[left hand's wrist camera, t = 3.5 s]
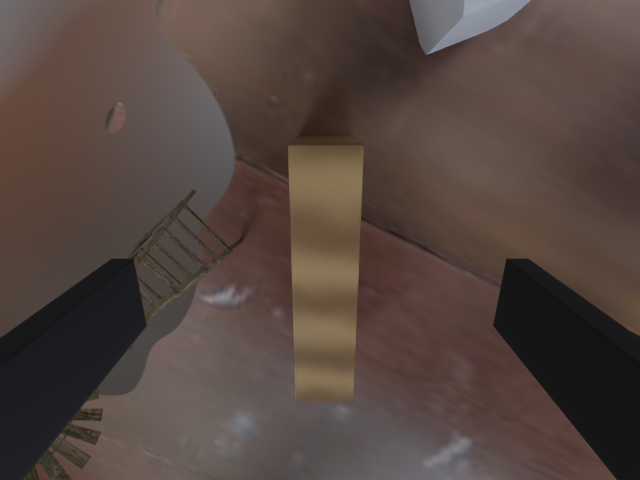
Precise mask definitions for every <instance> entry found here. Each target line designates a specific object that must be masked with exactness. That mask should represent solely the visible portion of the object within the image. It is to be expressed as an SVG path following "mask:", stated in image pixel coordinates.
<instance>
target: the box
mask: <svg viewBox="0 0 640 480" xmlns="http://www.w3.org/2000/svg"><path fill="white" fill-rule="evenodd" d="M363 158H364V145H363V144H362V143H360V142H359V141H358V140H357V139H356V138H355V137H354V136H297V137H296V138H295V139H294V140H293V141H292V142H291V143H290V144H289V145H288V169H289V202H290V235H291V267H292V300H293V333H294V366H295V398H296V402H353V398H354V374H355V350H356V326H357V302H358V278H359V254H360V230H361V206H362V182H363Z"/></svg>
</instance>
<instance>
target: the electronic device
mask: <svg viewBox="0 0 640 480" xmlns="http://www.w3.org/2000/svg"><path fill="white" fill-rule="evenodd" d="M530 1H531V0H409V2H410V6H411V10H412V14H413V18H414V23H415V27H416V31H417V35H418V39H419V44H420V46H421V47H422V49H423V51H424V52H425V54H426V55H428V54H430V53H433V52H435V51H438V50H440V49H443V48H445V47H448V46H450V45H453V44H456V43H458V42H461V41H463V40H466V39H468V38H471V37H473V36H476V35H478V34H481V33H483V32H486V31H488V30H490V29H492V28H494V27H496V26H498V25H500V24H501V23H503V22H505V21H507V20H508V19H510V18H511V17H512V16H513V15H514V14H516V13H517V12H518V11H519V10H520V9H521V8H523V7H524V6H525V5H526V4H527V3H529V2H530Z"/></svg>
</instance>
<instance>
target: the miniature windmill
mask: <svg viewBox="0 0 640 480" xmlns="http://www.w3.org/2000/svg"><path fill="white" fill-rule="evenodd" d="M195 192H196V191H194V190H192V191H191V193H190V194H189V195H188V196H187V197H186V199H185V200H184V201H182V202H180V203H179V204H178V205H177V206H176V207H175V208H174V209H173V210H172V211H171V212H170V213H169V214H168V215H167V216H166V217H165V218H163V219H162V220H161V221H160V222H159V223H158V224H157V225H156V226H155V227H154V228H153V229H152V230H151V231H149V232H148V233H147V234H146V235H145V236H144V237H143V238H142V239H141V240H140V241H139V242H138V243H137V244H136V245H135V246H134V247H135V250H134V251H133V252H132V254H131V255H130V256H129V257H128V258H127V259H134V261H135V262H134V264H135V269H136V267H137V266H138V265H139V264H140V262H142V263H143V264H144V265H145V266H147V267H148V268H149V269H150V270H151V271H152V272H154V273H155V274H156V275H157V276H158V277H159V278H161V279H162V280H163V281H164V282H165V283H166V284H167V285H169V286H170V287H171V288H172V289H173V290H172V291H171V292H170V293H169V294H167V295H166V296H165V297H163V298H162V297H160V296H159V295H158V294H157V293H156V292H155V291H154V290H152V289H151V288H150V287H149V286H148V285H147V284H146V283H144V282H143V281H142V280H141V279H140V278H139V277H138V276H137V279H138V282H139V283H140V284H141V285H142V286H143V287H144V288H145V289H146V290H148V291H149V292H150V293H151V294H152V295H153V296H155V297H156V298H157V299H158V300H159V301H158V302H156V301H154V300H153V299H152V298H151V297H150V296H149V295H148V294H146V293H145V292H144V291H143V290H142V289H141V288H139V289H140V294H141V297H142V298H143V299H144V300H145V301H147V302H148V303H149V304H150V305H151V307H150V308H149V309H147V310H146V311H145V312H144V315H145V320H146V322H147V321H148V320H149V319H151V318H152V317H153V316H154V315H155V314H156V313H158V312H159V311H160V310H161V309H162V308H163V307H165V306H167V305H169V304H170V303H171V302H172V301H173V300H175V299H176V298H177V297H178V296H179V295H181V294H182V293H183V292H186V291H187V290H188V289H189V288H190V287H191V286H193V285H194V284H195V283H196V282H197V281H198V280H200V279H201V278H202V277H203V276H204V275H206V274H207V273H208V272H209V271H210V270H211V269H213V268H214V267H215V266H216V265H217V264H218V263H220V262H221V261H222V260H223V259H224V258H225V257H227V256H228V255H229V254H230V253H231V252H232V251H233V249H234V248H235V247H237V246H238V245H239V244H241V243H242V242H243V241H244V240H243V239H242V238H241V239H240V240H238V241H237V242H236V243H234V244H233V245H232V246H231V247H228V246H227V245H226V244H225V243H224V242H223V241H222V240H221V239H220V238H219V237H218V236H217V235H216V234H215V233H214V232H213V231H212V230H211V229H210V228H209V227H208V226H207V225H206V224H205V223H204V222H203V221H202V220H201V219H200V218H199V217H198V216H197V215H196V214H194V212H193V211H192V210H191V209H190V208H189V207H188V206H187V205H186V204H187V203H188V201H189V200H190V199H191V198H192V196H193V195H194V194H195ZM177 208H178V209H177ZM183 208H184V209H185V210H186V211H187V212H188V213H189V214H190V215H191V216H192V217H193V218H194V219H195V220H196V221H198V223H199V224H200V225H201V226H202V227H204V228H205V229H206V230H207V231H208V232H209V233H210V234H211V235H212V236H213V237H214V238H215V239H216V240H217V241H218V242H219V243H220V244H221V245H222V246H223V247H224V248H225V249H226V250H225V251H224V252H223V253H221V254H220V255H219V256H216V255H215V254H214V253H213V252H212V251H211V250H210V249H209V248H208V247H207V246H206V245H205V244H204V243H203V242H202V241H201V240H200V239H199V238H198V237H197V236H196V235H195V234H194V233H193V232H192V231H191V230H190V229H189V228H187V227H186V226H185V225H184V224H183V223H182V222H181V221H180V220H179V219H178V218H177V215H178V214H179V213H180V212H181V210H182V209H183ZM176 209H177V210H176ZM175 210H176V211H175ZM174 211H175V212H174ZM173 212H174V213H173ZM169 216H170V218H169V220H168V221H167V222H166V223H165V225H164V226H163V227H161V228H160V229H158V230H157V231H156V232H155V233H154V234H153V235H152V236H151V234H152V232H153V231H154V230H155V229H156V228H157V227H158V226H159V225H160V224H161V223H162V222H163V221H164V220H165V219H166V218H167V217H169ZM173 220H174V221H175V222H177V223H178V224H179V225H180V226H181V227H182V228H183V229H184V230H185V231H186V232H187V233H188V234H189V235H190V236H191V237H192V238H193V239H194V240H195V241H196V242H197V243H198V244H199V245H200V246H201V247H202V248H203V249H204V250H205V251H207V252H208V253H209V254H210V255H211V256H212V257H213V258H214V259H213V260H212V261H211V262H209V263H208V264H207V265H205V264H204V263H203V262H202V261H201V260H200V259H198V258H197V257H196V256H195V255H194V254H193V253H192V252H191V251H190V250H189V249H188V248H187V247H186V246H185V245H183V244H182V243H181V242H180V241H179V240H178V239H177V238H176V237H175V236H174V235H173V234H172V233H171V232H169V231H168V230H167V228H168V227H169V225H170V224H171V223H172V222H173ZM163 233H165V234H166V235H167V236H168V237H169V238H171V239H172V240H173V241H174V242H175V243H176V244H177V245H178V246H179V247H180V248H181V249H182V250H183V251H185V252H186V253H187V254H188V255H189V256H190V257H191V258H192V259H193V260H194V261H195V262H196V263H198V264H199V265H200V266H201V267H202V269H200V270H199V271H198V272H196V273H195V274H194V275H192V274H191V273H190V272H189V271H188V270H187V269H185V268H184V267H183V266H182V265H181V264H180V263H179V262H178V261H177V260H176V259H174V258H173V257H172V256H171V255H170V254H169V253H168V252H167V251H166V250H165V249H163V248H162V247H161V246H160V245H159V244H158V243H157V241H158V240H159V238H160V237H161V236H162V234H163ZM155 235H156V236H155ZM150 236H151V237H150ZM154 236H155V237H154ZM149 237H150V238H149ZM153 237H154V238H153ZM152 238H153V239H152ZM151 239H152V241H151V242H150V243H149V244H148V246H147V247H146V248H145V249H143V247H144V246H145V245H146V244H147V243H148V242H149V241H150V240H151ZM153 246H154V247H155V248H156V249H157V250H158V251H160V252H161V253H162V254H163V255H164V256H165V257H166V258H167V259H168V260H170V261H171V262H172V263H173V264H174V265H175V266H176V267H177V268H178V269H180V270H181V271H182V272H183V273H184V274H185V275H186V276H187V277H188V279H187V280H186V281H184V282H183V283H182V284H181V283H180V282H179V281H178V280H177V279H175V278H174V277H173V276H172V275H171V274H170V273H169V272H168V271H167V270H166V269H164V268H163V267H162V266H161V265H160V264H159V263H158V262H157V261H156V260H155V259H154V258H152V257H151V256H150V255H149V254H148V252H149V251H150V250H151V248H152V247H153ZM139 251H141V252H142V253H141V254H139V255H138V256H137V254H138V253H139ZM145 256H147V257H148V258H149V259H150V260H151V261H152V262H153V263H154V264H155V265H157V266H158V267H159V268H160V269H161V270H162V271H163V272H164V273H165V274H167V275H168V276H169V277H170V278H171V279H172V280H173V281H174V282H175V283H176V284H178V285H179V286H176V285H175V284H174V283H173V282H172V281H171V280H169V279H168V278H167V277H166V276H165V275H164V274H163V273H162V272H160V271H159V270H158V269H157V268H156V267H155V266H154V265H152V264H151V263H150V262H149V261H148V260H147V259H146V258H144V257H145ZM216 262H217V263H216ZM215 263H216V264H215ZM212 265H213V266H212ZM211 266H212V267H211ZM210 267H211V268H210ZM209 268H210V269H209ZM208 269H209V270H208ZM205 271H206V272H205ZM132 348H133V347H132V346H130V347H129V349H132ZM129 349H128V350H129ZM98 398H99V391H98V387H97V388H96V390H95V391H94V392H93V393H92V395H91V396H90V397H89V398H88V399H87V401H90V400H94V399H98ZM102 412H103V409H79V411H78V412H77V413H76V414H75V416H74V417H73V418H72V419H71V422H72V420H86V421H101V419H102ZM71 422H70V424H67V426H66V427H65V428H64V429H63V431H62V432H61V433H60V434H62V435H65V437H66V436H68V437H72V438H75V439H78V440H81V441H84V442H88V443H91V444H94V445H96V443H97V440H98V438H99V436H100V433H101V432H98V431H95V430H91V429H87V428H83V427H79V426H75V425H71ZM65 437H64V439H65ZM64 439H62V438H61V437H59V436H58V437H57V438H56V439H55V440H54V442H53V443H52V444H51V445H50V447H51V448H53V449H54V451H57V452H58V453H60V454H61V455H62V456H64V457H65V458H66V459H68V460H69V461H71V462H72V463H73V464H75V465H76V466H77V467H79V468H80V469H82V468H83V467H84V465H85V464H86V463H87V461H88V460H89V459H90V457H91V456H89V455H88V454H86V453H85V452H83V451H81V450H80V449H78V448H77V447H75V446H73V445H72V444H70V443H69V442H67V441H65V440H64ZM54 451H53V452H54ZM53 452H52V453H53ZM52 453H51V452H50V451H49V449H47V450H46V452H45V453H44V454H43V455H42V457H41V458H40V459H39V460H38V461H39V462H38V463H40V464H41V466H42V467H43V469H44V470H45V472H46V473H47V475H48V476H49V478H50V480H72V479H71V478H70V476H69V475H68V474H67V473H66V471H65V470H64V469H63V467H62V466H61V465H60V464H59V462H58V461H57V460H56V458H55V457H54V456H53V455H52ZM38 463H36V464H38ZM36 464H35V465H36ZM35 465H34V467H33V468H32V469H31V470H30V472H29V473H28V474H27V475H26V477H25V478H24V479H23V480H39V478H38V475H37V471H36V468H35Z"/></svg>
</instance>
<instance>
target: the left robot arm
mask: <svg viewBox="0 0 640 480" xmlns="http://www.w3.org/2000/svg"><path fill="white" fill-rule="evenodd" d="M146 326H147V325H146V320H145V315H144V309H143V305H142V299H141V294H140V289H139V284H138V279H137V274H136V269H135V264H134V259H111V260H109V261H108V262H107V263H105V264H104V265H102V266H101V267H100V268H98V269H97V270H95V271H94V272H93V273H91V274H90V275H88V276H87V277H86V278H84V279H83V280H81V281H80V282H79V283H77V284H76V285H74V286H73V287H71V288H70V289H69V290H67V291H66V292H65V293H63V294H62V295H60V296H59V297H57V298H56V299H55V300H53V301H52V302H51V303H49V304H48V305H46V306H45V307H43V308H42V309H41V310H39V311H38V312H36V313H35V314H34V315H32V316H31V317H29V318H28V319H27V320H25V321H24V322H22V323H21V324H20V325H18V326H17V327H15V328H14V329H13V330H11V331H10V332H8V333H7V334H6V335H4V336H2V337H0V480H23V479H24V478H25V477H26V475H27V474H28V473H29V472H30V470H31V469H32V468H33V467H34V465H35V464H36V463H37V462H38V460H39V459H40V458H41V457H42V455H43V454H44V453H45V452H46V450H47V449H48V448H49V447H50V445H51V444H52V443H53V442H54V440H55V439H56V438H57V437H58V436H59V434H60V433H61V432H62V431H63V429H64V428H65V427H66V426H67V424H68V423H69V422H70V421H71V419H72V418H73V417H74V416H75V414H76V413H77V412H78V411H79V409H80V408H81V407H82V406H83V404H84V403H85V402H86V401H87V399H88V398H89V397H90V396H91V395H92V393H93V392H94V391H95V390H96V388H97V387H98V386H99V385H100V383H101V382H102V381H103V380H104V378H105V377H106V376H107V375H108V373H109V372H110V371H111V370H112V368H113V367H114V366H115V365H116V363H117V362H118V361H119V360H120V358H121V357H122V356H123V355H124V353H125V352H126V351H127V350H128V349H129V347H130V346H131V345H132V344H133V342H134V341H135V340H136V339H137V337H138V336H139V335H140V334H141V332H142V331H143V330H144V329H145V327H146ZM493 326H494V327H495V329H496V330H497V331H498V332H499V334H500V335H501V336H502V337H503V339H504V340H505V341H506V342H507V344H508V345H509V346H510V347H511V349H512V350H513V351H514V352H515V353H516V355H517V356H518V357H519V358H520V360H521V361H522V362H523V363H524V365H525V366H526V367H527V368H528V370H529V371H530V372H531V373H532V375H533V376H534V377H535V378H536V380H537V381H538V382H539V383H540V385H541V386H542V387H543V388H544V390H545V391H546V392H547V393H548V395H549V396H550V397H551V398H552V399H553V401H554V402H555V403H556V404H557V406H558V407H559V408H560V409H561V411H562V412H563V413H564V414H565V416H566V417H567V418H568V419H569V421H570V422H571V423H572V424H573V426H574V427H575V428H576V429H577V431H578V432H579V433H580V434H581V436H582V437H583V438H584V439H585V440H586V442H587V443H588V444H589V445H590V447H591V448H592V449H593V450H594V452H595V453H596V454H597V455H598V457H599V458H600V459H601V460H602V462H603V463H604V464H605V465H606V467H607V468H608V469H609V470H610V472H611V473H612V474H613V475H614V477H615V478H616V479H617V480H640V336H639V335H637V334H635V333H633V332H630V331H629V330H627V329H626V328H625V327H623V326H622V325H620V324H619V323H618V322H616V321H615V320H613V319H612V318H611V317H609V316H608V315H606V314H605V313H604V312H602V311H601V310H599V309H598V308H597V307H595V306H594V305H592V304H591V303H590V302H588V301H587V300H585V299H584V298H583V297H581V296H580V295H578V294H577V293H576V292H574V291H573V290H571V289H570V288H569V287H567V286H566V285H564V284H563V283H561V282H560V281H559V280H557V279H556V278H554V277H553V276H552V275H550V274H549V273H547V272H546V271H545V270H543V269H542V268H540V267H539V266H538V265H536V264H535V263H533V262H532V261H531V260H529V259H506V264H505V269H504V274H503V279H502V284H501V289H500V294H499V299H498V304H497V309H496V315H495V320H494V325H493Z"/></svg>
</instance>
